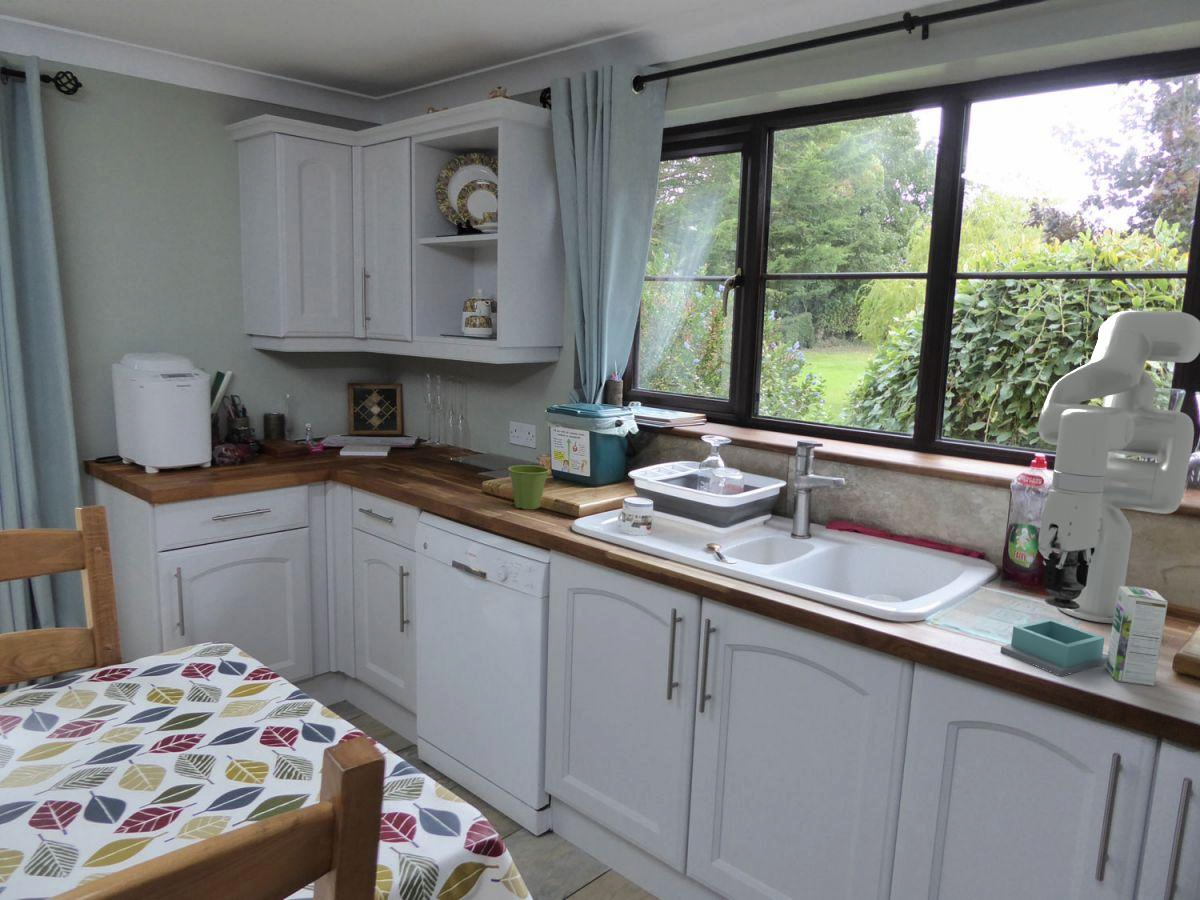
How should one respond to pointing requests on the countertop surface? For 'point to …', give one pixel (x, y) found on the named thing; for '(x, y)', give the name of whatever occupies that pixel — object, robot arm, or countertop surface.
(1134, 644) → the syrup box
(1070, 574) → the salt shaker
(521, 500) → the plant pot
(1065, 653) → the box
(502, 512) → the countertop surface
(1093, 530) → the robot arm
